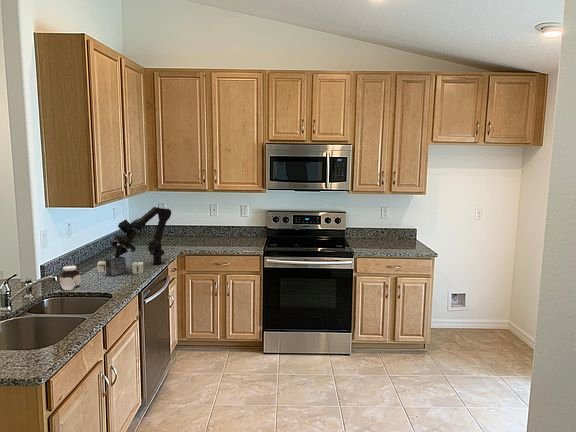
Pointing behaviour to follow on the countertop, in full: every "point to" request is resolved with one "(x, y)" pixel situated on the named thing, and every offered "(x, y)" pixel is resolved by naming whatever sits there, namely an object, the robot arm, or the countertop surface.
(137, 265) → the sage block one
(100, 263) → the cream block seven
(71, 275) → the spread jar
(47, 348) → the countertop surface
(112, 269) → the small box
